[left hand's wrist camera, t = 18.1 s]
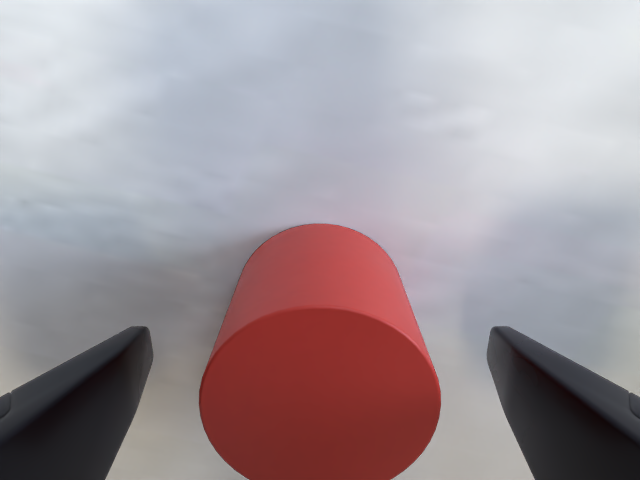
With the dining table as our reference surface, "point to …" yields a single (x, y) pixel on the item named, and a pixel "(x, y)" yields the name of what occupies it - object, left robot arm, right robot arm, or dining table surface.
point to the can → (319, 364)
